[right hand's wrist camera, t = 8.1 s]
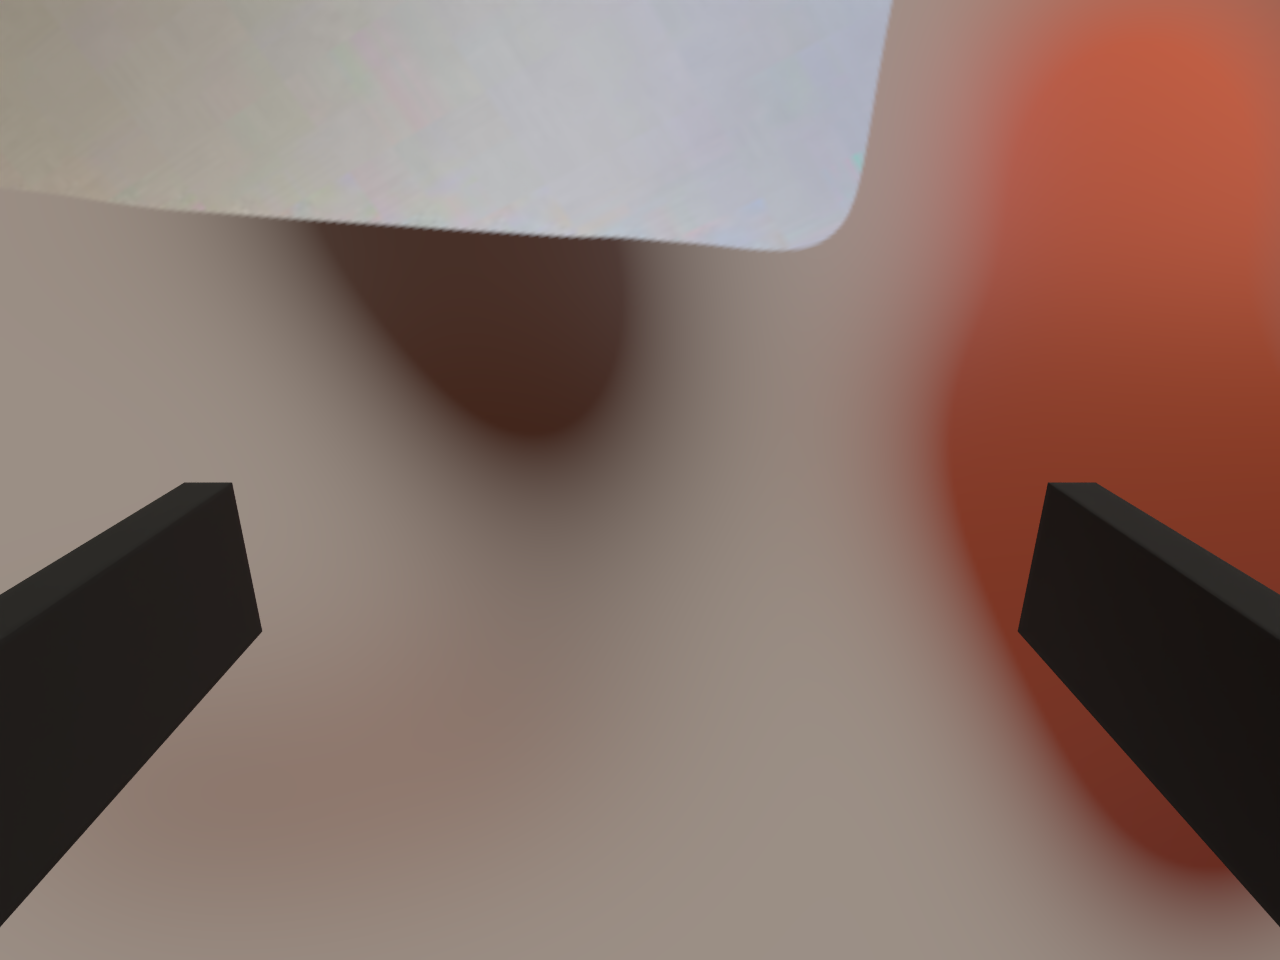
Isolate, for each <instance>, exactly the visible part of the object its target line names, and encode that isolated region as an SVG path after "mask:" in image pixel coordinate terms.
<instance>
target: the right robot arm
mask: <svg viewBox="0 0 1280 960" xmlns="http://www.w3.org/2000/svg"><path fill="white" fill-rule="evenodd" d="M261 632H262V628H261V623H260V618H259V613H258V608H257V603H256V598H255V593H254V588H253V584H252V579H251V574H250V569H249V564H248V559H247V554H246V549H245V544H244V540H243V534H242V529H241V525H240V520H239V515H238V510H237V505H236V500H235V495H234V490H233V485H232V483H183V484H181V485H180V486H178V487H177V488H175V489H173V490H172V491H170V492H168V493H167V494H165V495H163V496H162V497H160V498H158V499H157V500H155V501H153V502H152V503H150V504H149V505H147V506H145V507H144V508H142V509H140V510H139V511H137V512H135V513H134V514H132V515H130V516H129V517H127V518H126V519H124V520H122V521H121V522H119V523H117V524H116V525H114V526H112V527H111V528H109V529H107V530H106V531H104V532H103V533H101V534H99V535H98V536H96V537H94V538H93V539H91V540H89V541H88V542H86V543H84V544H83V545H81V546H80V547H78V548H76V549H75V550H73V551H71V552H70V553H68V554H67V555H65V556H63V557H62V558H60V559H58V560H57V561H55V562H53V563H52V564H50V565H48V566H47V567H45V568H43V569H42V570H40V571H39V572H37V573H35V574H34V575H32V576H30V577H29V578H27V579H25V580H24V581H22V582H20V583H19V584H17V585H16V586H14V587H12V588H11V589H9V590H7V591H6V592H4V593H2V594H1V595H0V927H1V925H2V924H3V923H4V922H5V921H6V920H7V919H8V917H9V916H10V915H11V914H12V913H13V912H14V911H15V910H16V908H17V907H18V906H19V905H20V904H21V903H22V902H23V901H24V899H25V898H26V897H27V896H28V895H29V894H30V893H31V892H32V890H33V889H34V888H35V887H36V886H37V885H38V884H39V883H40V881H41V880H42V879H43V878H44V877H45V876H46V875H47V874H48V872H49V871H50V870H51V869H52V868H53V867H54V866H55V864H56V863H57V862H58V861H59V860H60V859H61V858H62V857H63V855H64V854H65V853H66V852H67V851H68V850H69V849H70V848H71V846H72V845H73V844H74V843H75V842H76V841H77V840H78V839H79V837H80V836H81V835H82V834H83V833H84V832H85V831H86V830H87V828H88V827H89V826H90V825H91V824H92V823H93V822H94V820H95V819H96V818H97V817H98V816H99V815H100V814H101V813H102V811H103V810H104V809H105V808H106V807H107V806H108V805H109V804H110V802H111V801H112V800H113V799H114V798H115V797H116V796H117V795H118V793H119V792H120V791H121V790H122V789H123V788H124V787H125V785H126V784H127V783H128V782H129V781H130V780H131V779H132V778H133V776H134V775H135V774H136V773H137V772H138V771H139V770H140V769H141V767H142V766H143V765H144V764H145V763H146V762H147V761H148V759H149V758H150V757H151V756H152V755H153V754H154V753H155V752H156V751H157V749H158V748H159V747H160V746H161V745H162V744H163V743H164V741H165V740H166V739H167V738H168V737H169V736H170V735H171V734H172V732H173V731H174V730H175V729H176V728H177V727H178V726H179V725H180V723H181V722H182V721H183V720H184V719H185V718H186V717H187V715H188V714H189V713H190V712H191V711H192V710H193V709H194V708H195V707H196V705H197V704H198V703H199V702H200V701H201V700H202V699H203V698H204V696H205V695H206V694H207V693H208V692H209V691H210V690H211V689H212V687H213V686H214V685H215V684H216V683H217V682H218V681H219V679H220V678H221V677H222V676H223V675H224V674H225V673H226V672H227V670H228V669H229V668H230V667H231V666H232V665H233V664H234V663H235V661H236V660H237V659H238V658H239V657H240V656H241V655H242V654H243V652H244V651H245V650H246V649H247V648H248V647H249V646H250V645H251V643H252V642H253V641H254V640H255V639H256V638H257V637H258V636H259V634H260V633H261ZM1018 632H1019V633H1020V634H1021V636H1022V637H1023V638H1024V639H1025V640H1026V641H1027V642H1028V643H1029V644H1030V646H1031V647H1032V648H1033V649H1034V650H1035V651H1036V652H1037V654H1038V655H1039V656H1040V657H1041V658H1042V659H1043V660H1044V661H1045V663H1046V664H1047V665H1048V666H1049V667H1050V668H1051V669H1052V670H1053V672H1054V673H1055V674H1056V675H1057V676H1058V677H1059V678H1060V679H1061V681H1062V682H1063V683H1064V684H1065V685H1066V686H1067V687H1068V688H1069V690H1070V691H1071V692H1072V693H1073V694H1074V695H1075V696H1076V698H1077V699H1078V700H1079V701H1080V702H1081V703H1082V704H1083V705H1084V707H1085V708H1086V709H1087V710H1088V711H1089V712H1090V713H1091V714H1092V716H1093V717H1094V718H1095V719H1096V720H1097V721H1098V722H1099V723H1100V725H1101V726H1102V727H1103V728H1104V729H1105V730H1106V731H1107V733H1108V734H1109V735H1110V736H1111V737H1112V738H1113V739H1114V740H1115V741H1116V743H1117V744H1118V745H1119V746H1120V747H1121V748H1122V749H1123V751H1124V752H1125V753H1126V754H1127V755H1128V756H1129V757H1130V758H1131V760H1132V761H1133V762H1134V763H1135V764H1136V765H1137V766H1138V767H1139V769H1140V770H1141V771H1142V772H1143V773H1144V774H1145V775H1146V777H1147V778H1148V779H1149V780H1150V781H1151V782H1152V783H1153V784H1154V785H1155V787H1156V788H1157V789H1158V790H1159V791H1160V792H1161V793H1162V794H1163V796H1164V797H1165V798H1166V799H1167V800H1168V801H1169V802H1170V804H1171V805H1172V806H1173V807H1174V808H1175V809H1176V810H1177V811H1178V813H1179V814H1180V815H1181V816H1182V817H1183V818H1184V819H1185V820H1186V821H1187V823H1188V824H1189V825H1190V826H1191V827H1192V828H1193V829H1194V831H1195V832H1196V833H1197V834H1198V835H1199V836H1200V837H1201V839H1202V840H1203V841H1204V842H1205V843H1206V844H1207V845H1208V846H1209V848H1210V849H1211V850H1212V851H1213V852H1214V853H1215V854H1216V855H1217V857H1218V858H1219V859H1220V860H1221V861H1222V862H1223V863H1224V864H1225V866H1226V867H1227V868H1228V869H1229V870H1230V871H1231V872H1232V873H1233V875H1234V876H1235V877H1236V878H1237V879H1238V880H1239V881H1240V883H1241V884H1242V885H1243V886H1244V887H1245V888H1246V889H1247V890H1248V892H1249V893H1250V894H1251V895H1252V896H1253V897H1254V898H1255V899H1256V901H1257V902H1258V903H1259V904H1260V905H1261V906H1262V907H1263V908H1264V910H1265V911H1266V912H1267V913H1268V914H1269V915H1270V916H1271V918H1272V919H1273V920H1274V921H1275V922H1276V923H1277V924H1278V925H1279V927H1280V595H1279V594H1278V593H1276V592H1274V591H1273V590H1271V589H1269V588H1268V587H1266V586H1264V585H1263V584H1261V583H1260V582H1258V581H1256V580H1255V579H1253V578H1251V577H1250V576H1248V575H1246V574H1245V573H1243V572H1241V571H1240V570H1238V569H1236V568H1235V567H1233V566H1232V565H1230V564H1228V563H1227V562H1225V561H1223V560H1222V559H1220V558H1218V557H1217V556H1215V555H1214V554H1212V553H1210V552H1209V551H1207V550H1205V549H1204V548H1202V547H1200V546H1199V545H1197V544H1196V543H1194V542H1192V541H1191V540H1189V539H1187V538H1186V537H1184V536H1182V535H1181V534H1179V533H1177V532H1176V531H1174V530H1173V529H1171V528H1169V527H1168V526H1166V525H1164V524H1163V523H1161V522H1159V521H1158V520H1156V519H1154V518H1153V517H1151V516H1150V515H1148V514H1146V513H1145V512H1143V511H1141V510H1140V509H1138V508H1136V507H1135V506H1133V505H1131V504H1130V503H1128V502H1127V501H1125V500H1123V499H1122V498H1120V497H1118V496H1117V495H1115V494H1113V493H1112V492H1110V491H1108V490H1107V489H1105V488H1103V487H1102V486H1100V485H1099V484H1097V483H1048V485H1047V490H1046V495H1045V500H1044V505H1043V510H1042V515H1041V519H1040V524H1039V530H1038V534H1037V539H1036V544H1035V549H1034V554H1033V559H1032V564H1031V569H1030V574H1029V579H1028V584H1027V588H1026V593H1025V598H1024V603H1023V608H1022V613H1021V618H1020V623H1019V628H1018Z"/></svg>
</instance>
